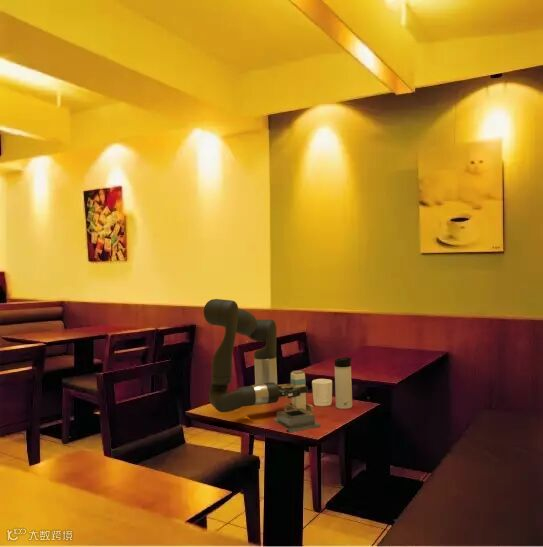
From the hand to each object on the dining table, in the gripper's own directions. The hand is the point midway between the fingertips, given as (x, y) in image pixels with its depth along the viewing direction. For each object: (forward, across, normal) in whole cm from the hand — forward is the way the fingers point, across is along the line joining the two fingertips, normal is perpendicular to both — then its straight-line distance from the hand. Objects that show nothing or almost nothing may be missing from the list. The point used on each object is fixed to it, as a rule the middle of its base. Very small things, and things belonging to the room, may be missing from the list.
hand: (304, 388), depth 211 cm
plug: (-3, 0, +8) cm, 8 cm away
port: (-11, -13, +9) cm, 19 cm away
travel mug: (+14, -5, +9) cm, 18 cm away
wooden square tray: (-3, 0, +9) cm, 9 cm away
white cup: (+9, +3, +9) cm, 13 cm away
